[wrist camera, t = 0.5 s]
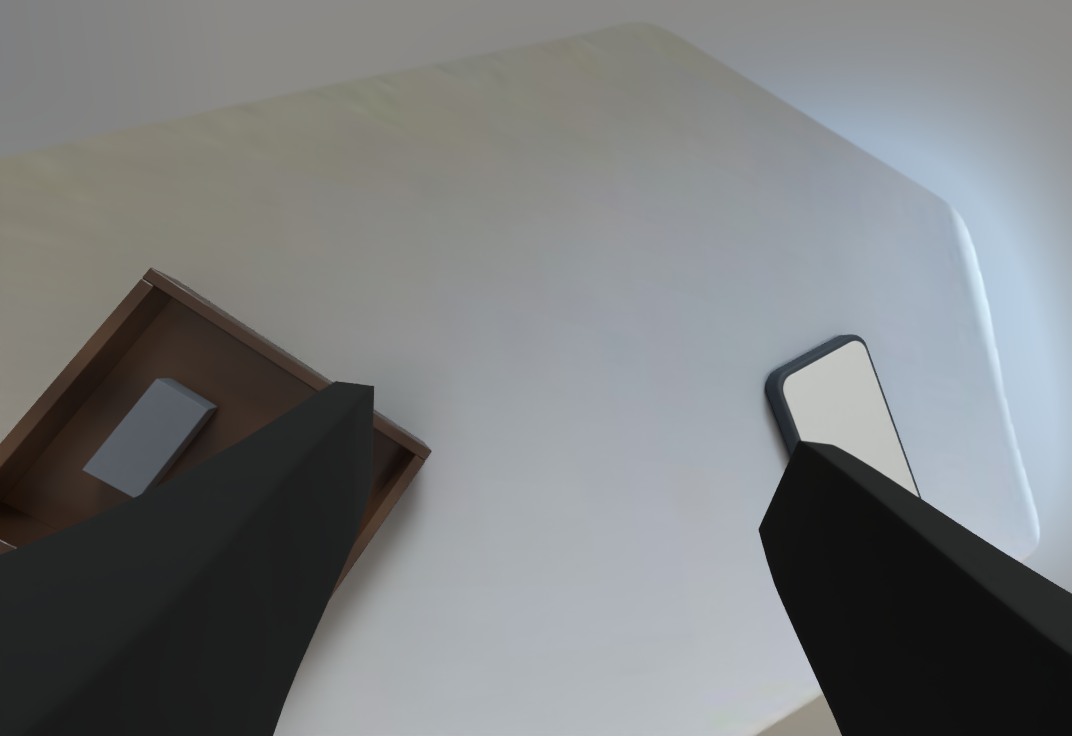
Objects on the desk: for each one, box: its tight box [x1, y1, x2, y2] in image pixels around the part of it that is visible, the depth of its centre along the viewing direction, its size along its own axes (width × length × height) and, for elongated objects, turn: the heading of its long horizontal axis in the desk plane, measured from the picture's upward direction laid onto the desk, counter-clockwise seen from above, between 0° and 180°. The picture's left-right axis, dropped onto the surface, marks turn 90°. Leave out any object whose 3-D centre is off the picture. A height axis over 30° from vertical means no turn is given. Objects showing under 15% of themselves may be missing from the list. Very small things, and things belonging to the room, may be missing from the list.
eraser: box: [83, 378, 218, 498], centre depth 26 cm, size 5×3×2 cm, turn 144°
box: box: [0, 268, 431, 600], centre depth 27 cm, size 13×15×4 cm
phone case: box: [766, 335, 921, 499], centre depth 40 cm, size 9×2×16 cm
